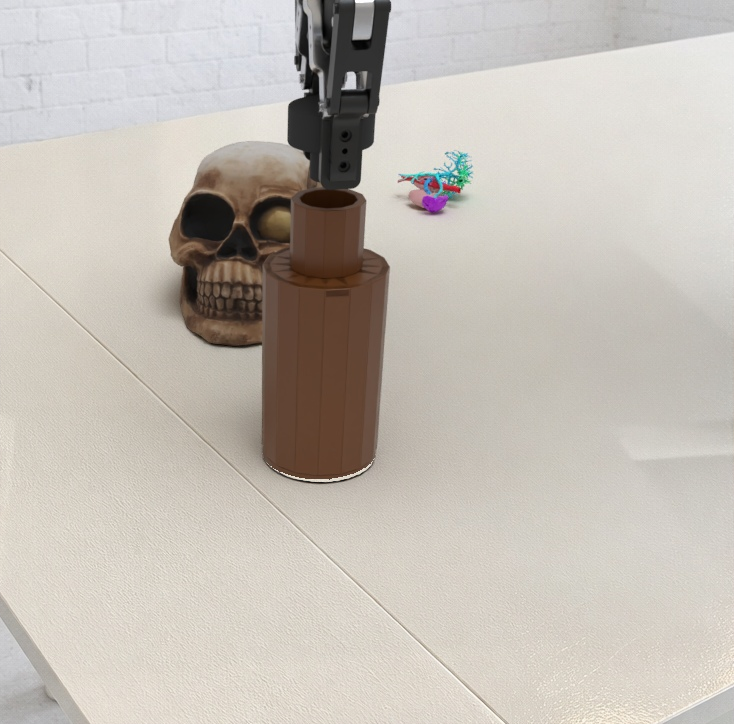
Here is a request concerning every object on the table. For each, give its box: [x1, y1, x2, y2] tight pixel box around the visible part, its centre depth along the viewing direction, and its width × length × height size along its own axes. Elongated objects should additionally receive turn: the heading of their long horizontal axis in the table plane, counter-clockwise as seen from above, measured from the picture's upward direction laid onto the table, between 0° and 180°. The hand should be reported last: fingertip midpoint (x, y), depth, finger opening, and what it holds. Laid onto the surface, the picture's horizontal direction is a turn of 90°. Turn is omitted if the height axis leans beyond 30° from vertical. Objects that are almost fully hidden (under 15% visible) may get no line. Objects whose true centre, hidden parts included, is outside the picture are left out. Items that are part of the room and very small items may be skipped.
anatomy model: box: [397, 149, 474, 214], centre depth 114 cm, size 5×8×7 cm
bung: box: [286, 95, 377, 182], centre depth 63 cm, size 5×5×4 cm
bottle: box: [261, 187, 391, 480], centre depth 69 cm, size 7×7×17 cm
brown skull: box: [168, 140, 322, 347], centre depth 93 cm, size 16×17×13 cm
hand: (330, 170), depth 64 cm, fingers closed on bung, 4 cm apart
